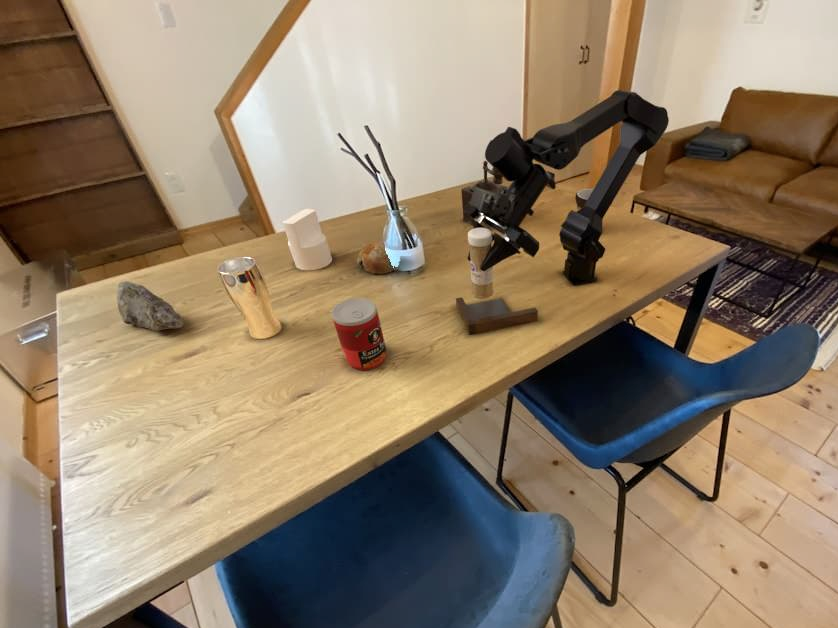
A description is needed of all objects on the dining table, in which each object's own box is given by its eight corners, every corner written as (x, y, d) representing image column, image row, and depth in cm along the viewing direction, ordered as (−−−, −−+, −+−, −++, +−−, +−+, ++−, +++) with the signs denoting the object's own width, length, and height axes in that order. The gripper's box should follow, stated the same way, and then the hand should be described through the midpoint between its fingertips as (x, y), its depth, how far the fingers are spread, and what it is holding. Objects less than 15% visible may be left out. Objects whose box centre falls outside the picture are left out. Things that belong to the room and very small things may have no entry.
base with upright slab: (318, 272, 108) (302, 225, 100) (288, 267, 110) (270, 221, 102) (339, 256, 115) (326, 211, 106) (310, 251, 117) (295, 207, 109)
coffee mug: (605, 236, 122) (611, 200, 115) (575, 236, 122) (579, 200, 116) (599, 219, 131) (604, 184, 124) (570, 219, 131) (574, 185, 124)
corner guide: (520, 295, 100) (520, 286, 98) (537, 320, 92) (538, 311, 90) (456, 308, 96) (455, 298, 94) (469, 335, 89) (468, 325, 87)
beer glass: (249, 344, 87) (215, 277, 77) (246, 326, 92) (214, 261, 82) (286, 334, 89) (258, 268, 79) (281, 317, 94) (254, 252, 84)
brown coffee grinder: (460, 221, 130) (455, 156, 118) (484, 210, 137) (482, 147, 125) (500, 235, 123) (499, 168, 111) (524, 222, 129) (525, 157, 117)
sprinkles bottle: (467, 294, 90) (462, 232, 81) (482, 285, 93) (479, 224, 84) (483, 302, 88) (479, 239, 79) (498, 293, 90) (497, 231, 81)
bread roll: (387, 289, 109) (395, 264, 103) (349, 270, 107) (355, 243, 102) (402, 270, 116) (410, 245, 111) (366, 251, 114) (372, 226, 109)
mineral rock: (188, 334, 90) (162, 291, 83) (126, 352, 86) (94, 309, 79) (183, 305, 98) (159, 264, 91) (127, 320, 94) (97, 278, 87)
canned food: (368, 376, 80) (353, 327, 72) (337, 361, 83) (320, 313, 75) (396, 353, 84) (385, 305, 77) (366, 340, 88) (353, 293, 80)
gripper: (467, 156, 82) (423, 228, 85) (528, 184, 70) (474, 266, 73) (502, 190, 90) (461, 254, 93) (561, 220, 79) (512, 292, 82)
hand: (475, 265), depth 85 cm, fingers closed on sprinkles bottle, 4 cm apart
